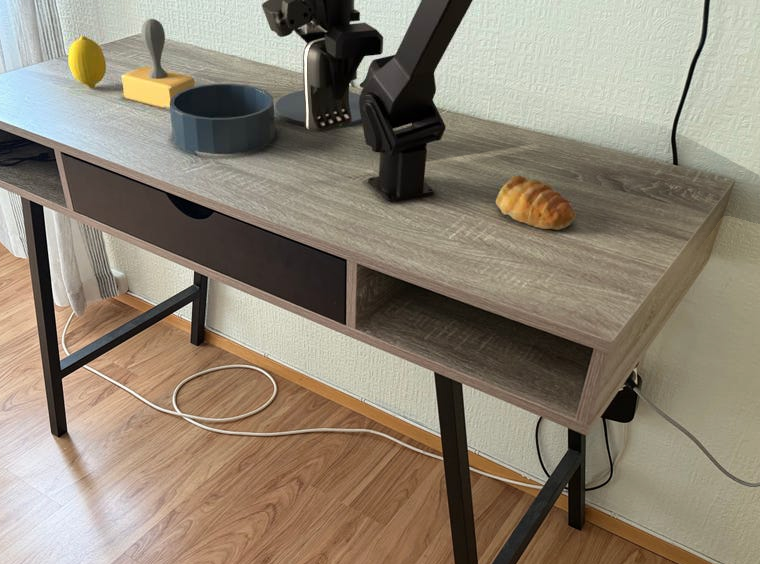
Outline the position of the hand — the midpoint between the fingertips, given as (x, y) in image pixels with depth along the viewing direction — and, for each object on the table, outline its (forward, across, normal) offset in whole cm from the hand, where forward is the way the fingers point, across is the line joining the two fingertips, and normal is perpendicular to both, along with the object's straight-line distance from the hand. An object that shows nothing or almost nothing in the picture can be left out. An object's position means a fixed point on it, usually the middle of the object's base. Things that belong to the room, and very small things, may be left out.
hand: (330, 93), depth 108 cm
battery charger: (+5, 0, 0) cm, 5 cm away
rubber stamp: (+8, -28, -17) cm, 34 cm away
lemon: (+8, -37, -26) cm, 46 cm away
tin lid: (+8, -14, +5) cm, 17 cm away
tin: (+8, -10, -12) cm, 18 cm away
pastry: (+9, +26, +16) cm, 32 cm away
